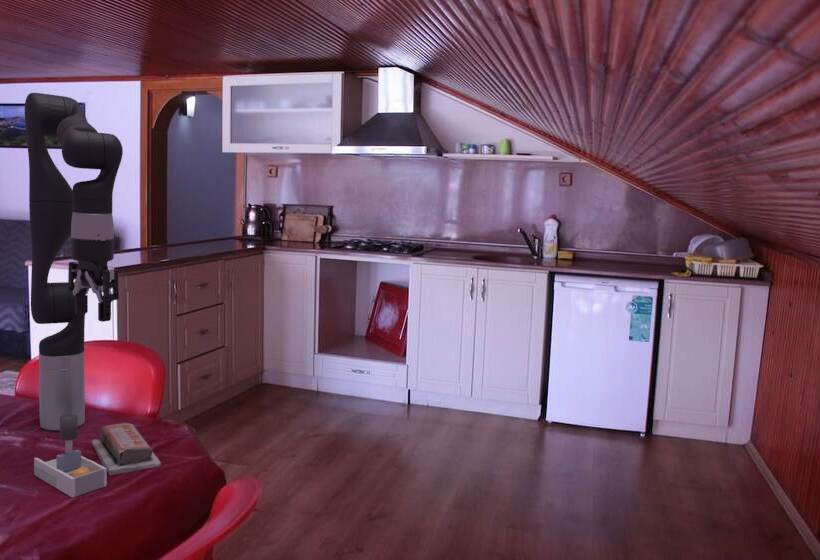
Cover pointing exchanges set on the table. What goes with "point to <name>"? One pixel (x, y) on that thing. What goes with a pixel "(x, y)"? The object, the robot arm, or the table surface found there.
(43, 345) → the robot arm
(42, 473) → the tray
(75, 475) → the ball
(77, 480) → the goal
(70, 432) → the striker
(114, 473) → the packaged product
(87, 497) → the table surface
